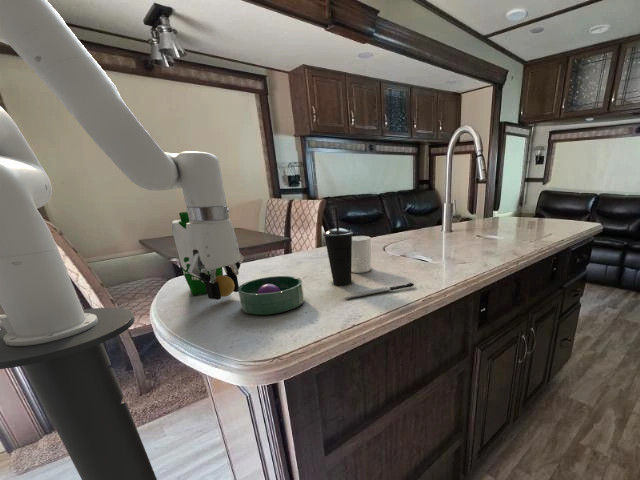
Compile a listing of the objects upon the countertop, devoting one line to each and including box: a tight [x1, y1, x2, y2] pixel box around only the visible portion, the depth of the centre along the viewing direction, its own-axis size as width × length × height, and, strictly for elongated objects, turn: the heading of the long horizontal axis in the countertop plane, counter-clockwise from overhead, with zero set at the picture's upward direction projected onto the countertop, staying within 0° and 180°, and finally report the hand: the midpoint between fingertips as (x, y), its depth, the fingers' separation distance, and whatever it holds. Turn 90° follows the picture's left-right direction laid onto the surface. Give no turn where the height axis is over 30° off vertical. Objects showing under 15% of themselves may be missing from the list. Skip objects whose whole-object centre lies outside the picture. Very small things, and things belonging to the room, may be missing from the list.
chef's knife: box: [343, 282, 415, 300], centre depth 79 cm, size 19×1×3 cm
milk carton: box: [171, 211, 224, 297], centre depth 80 cm, size 9×9×20 cm
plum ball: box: [257, 284, 280, 294], centre depth 69 cm, size 5×5×5 cm
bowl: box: [237, 275, 305, 316], centre depth 71 cm, size 13×13×5 cm
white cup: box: [351, 235, 372, 274], centre depth 97 cm, size 8×8×10 cm
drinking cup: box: [322, 207, 354, 286], centre depth 83 cm, size 8×8×20 cm
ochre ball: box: [215, 274, 235, 298], centre depth 74 cm, size 5×5×5 cm
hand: (224, 294), depth 74 cm, fingers closed on ochre ball, 4 cm apart
